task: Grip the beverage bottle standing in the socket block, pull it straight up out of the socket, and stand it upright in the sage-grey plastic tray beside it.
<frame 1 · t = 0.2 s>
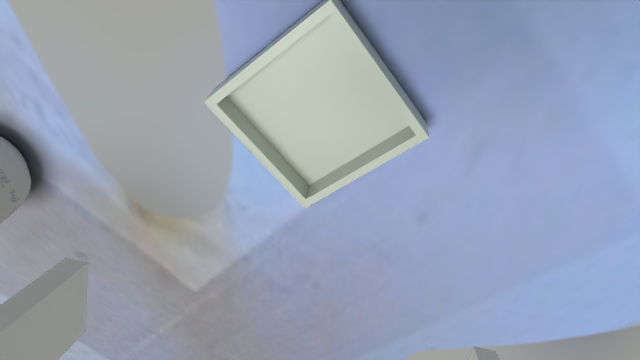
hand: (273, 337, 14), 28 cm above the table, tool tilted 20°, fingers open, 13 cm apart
tray: (319, 105, 40), on the table
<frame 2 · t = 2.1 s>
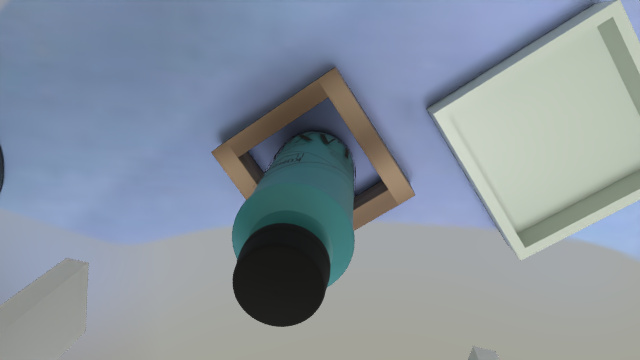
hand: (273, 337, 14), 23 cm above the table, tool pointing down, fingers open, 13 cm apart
beverage bottle: (316, 163, 37), resting in socket block
tray: (547, 134, 34), on the table
socket block: (315, 164, 36), on the table
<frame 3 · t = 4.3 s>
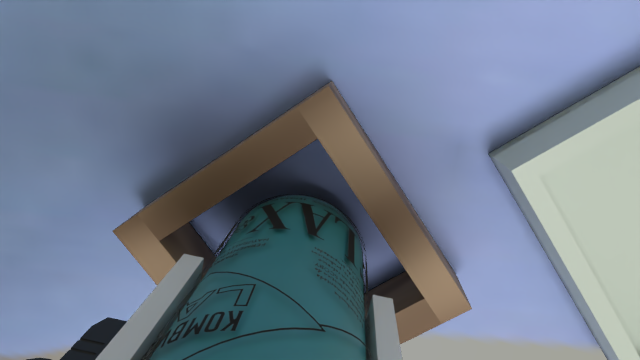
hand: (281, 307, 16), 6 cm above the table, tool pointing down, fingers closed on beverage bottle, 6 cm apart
beverage bottle: (300, 239, 22), resting in socket block, touching gripper
socket block: (299, 241, 22), on the table
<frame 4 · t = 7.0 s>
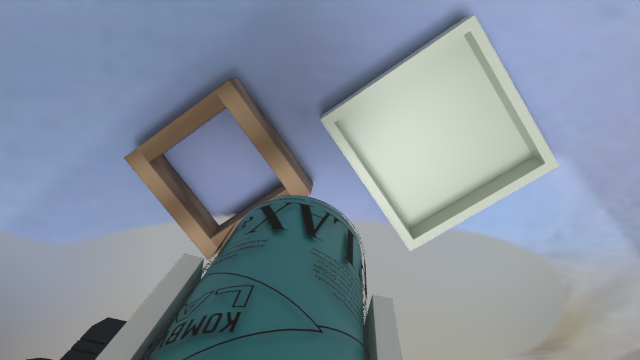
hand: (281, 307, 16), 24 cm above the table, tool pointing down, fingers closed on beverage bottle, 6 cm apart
beverage bottle: (299, 240, 22), point 18 cm above the table, touching gripper
tray: (432, 135, 38), on the table
socket block: (226, 166, 40), on the table
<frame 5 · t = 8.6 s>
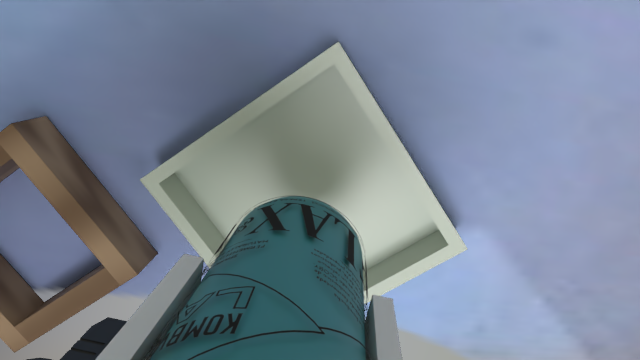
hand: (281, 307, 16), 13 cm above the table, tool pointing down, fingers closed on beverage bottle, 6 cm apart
beverage bottle: (299, 240, 22), point 7 cm above the table, touching gripper
tray: (308, 197, 28), on the table
socket block: (44, 229, 30), on the table
when the fingers open (8 cm above the table, at t = 9.8 s): beverage bottle drops 1 cm, resting on tray.
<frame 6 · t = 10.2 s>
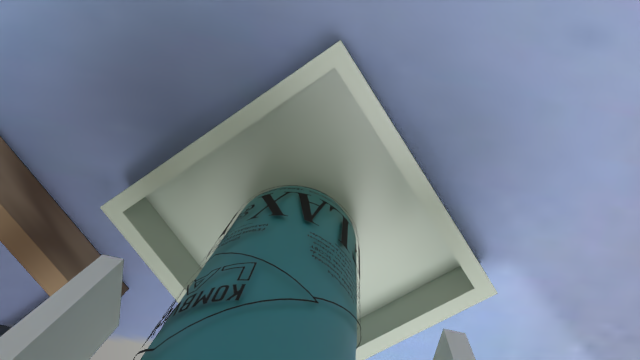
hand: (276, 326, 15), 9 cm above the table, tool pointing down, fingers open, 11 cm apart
beverage bottle: (297, 228, 23), resting on tray
tray: (304, 226, 24), on the table
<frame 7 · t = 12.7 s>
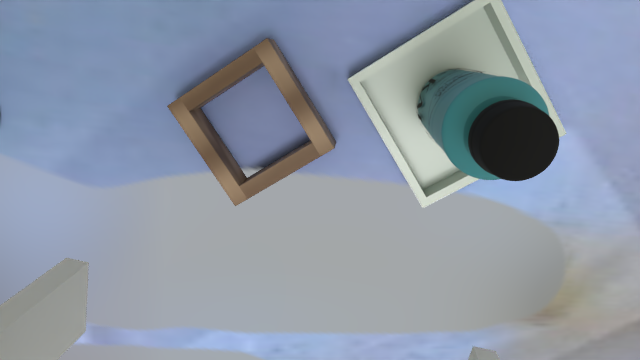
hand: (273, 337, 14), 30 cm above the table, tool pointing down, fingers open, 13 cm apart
beverage bottle: (447, 102, 40), resting on tray
tray: (449, 102, 41), on the table
socket block: (257, 122, 43), on the table
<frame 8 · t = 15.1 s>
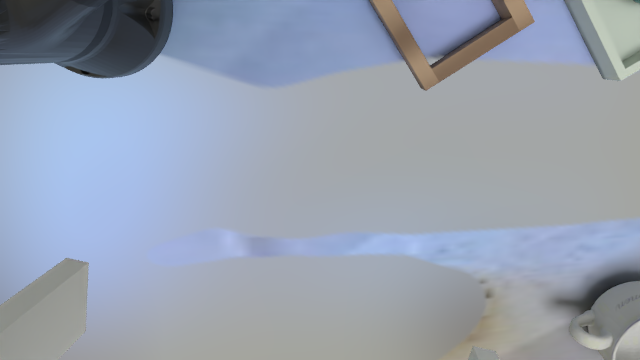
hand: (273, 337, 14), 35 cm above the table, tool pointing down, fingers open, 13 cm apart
socket block: (442, 7, 43), on the table
teacup: (608, 305, 51), on the table
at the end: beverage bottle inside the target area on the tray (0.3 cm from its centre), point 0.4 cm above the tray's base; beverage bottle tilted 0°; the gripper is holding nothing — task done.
